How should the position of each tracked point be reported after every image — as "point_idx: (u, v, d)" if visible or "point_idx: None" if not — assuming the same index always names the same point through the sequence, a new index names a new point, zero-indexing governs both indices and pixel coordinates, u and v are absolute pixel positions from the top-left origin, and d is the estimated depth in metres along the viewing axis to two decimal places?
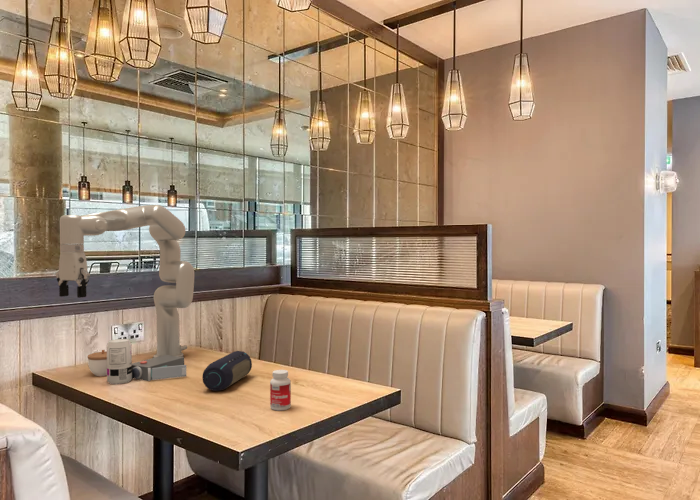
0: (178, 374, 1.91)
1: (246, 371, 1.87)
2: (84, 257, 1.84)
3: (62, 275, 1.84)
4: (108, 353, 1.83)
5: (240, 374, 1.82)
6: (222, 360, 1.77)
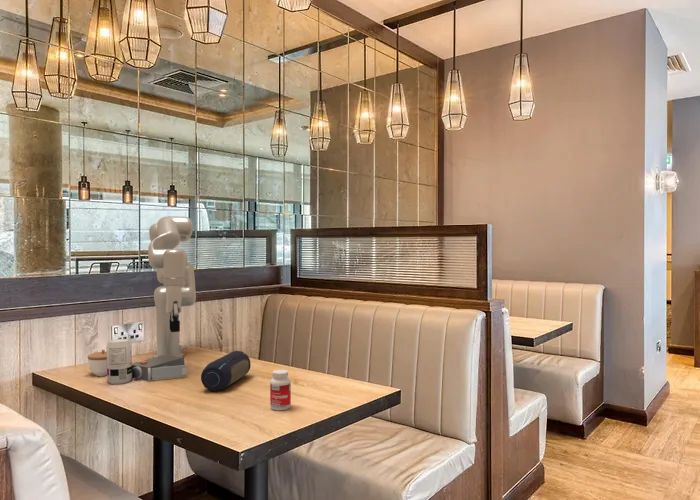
0: (178, 374, 1.91)
1: (245, 371, 1.87)
2: None
3: None
4: (108, 353, 1.83)
5: (239, 374, 1.82)
6: (221, 360, 1.77)
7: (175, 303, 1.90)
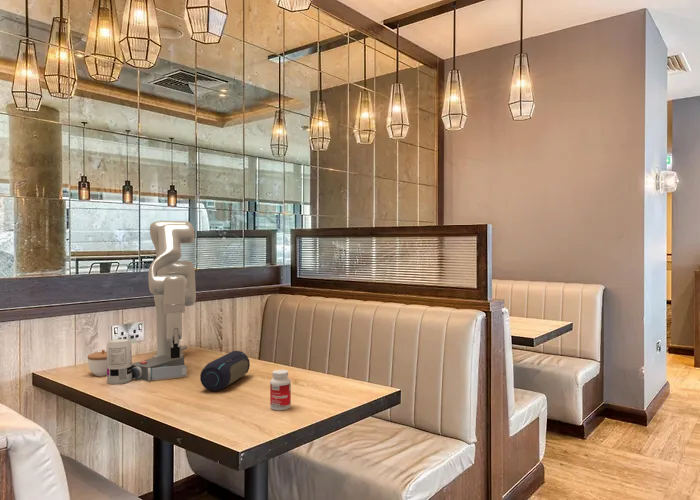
0: (178, 374, 1.91)
1: (244, 371, 1.87)
2: None
3: None
4: (108, 353, 1.83)
5: (238, 374, 1.82)
6: (220, 360, 1.77)
7: (175, 331, 1.90)
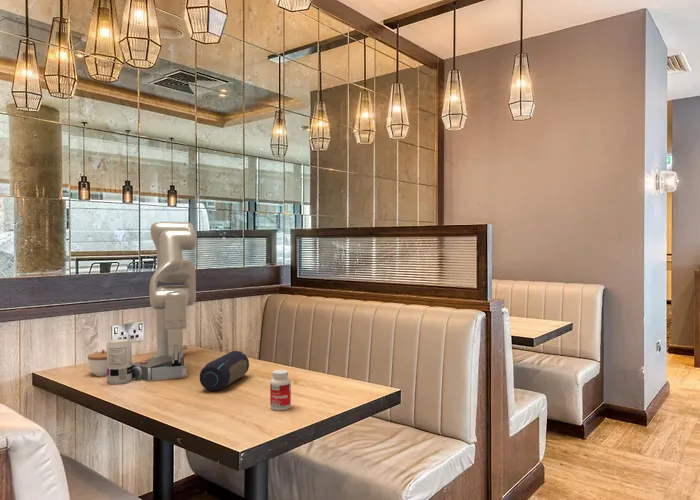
0: (178, 375, 1.90)
1: (243, 371, 1.87)
2: None
3: None
4: (108, 353, 1.83)
5: (237, 374, 1.82)
6: (219, 360, 1.77)
7: (176, 347, 1.88)
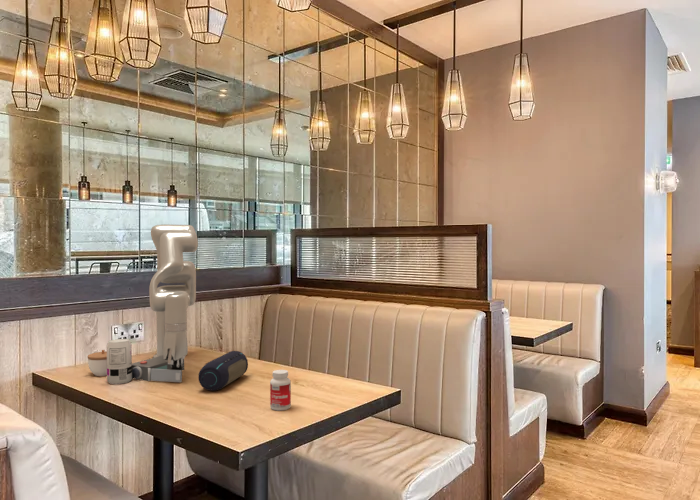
0: (173, 379, 1.84)
1: (242, 371, 1.87)
2: None
3: (178, 354, 1.85)
4: (108, 353, 1.83)
5: (236, 374, 1.82)
6: (218, 360, 1.77)
7: (170, 351, 1.83)
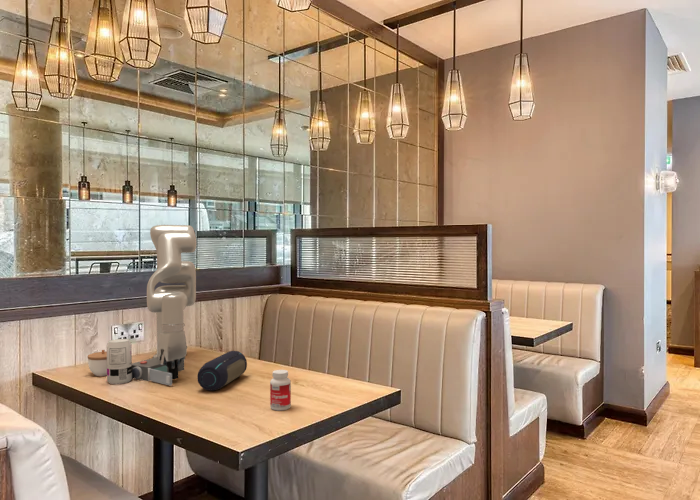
0: (165, 382, 1.81)
1: (241, 371, 1.87)
2: None
3: (172, 355, 1.83)
4: (108, 353, 1.83)
5: (235, 374, 1.82)
6: (217, 360, 1.77)
7: (163, 352, 1.82)
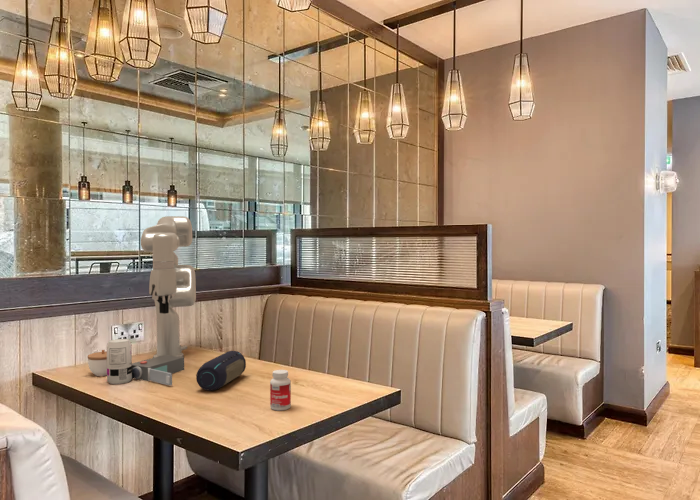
0: (165, 382, 1.81)
1: (240, 371, 1.88)
2: None
3: (163, 291, 1.95)
4: (108, 353, 1.83)
5: (234, 374, 1.82)
6: (216, 360, 1.77)
7: (154, 287, 1.94)
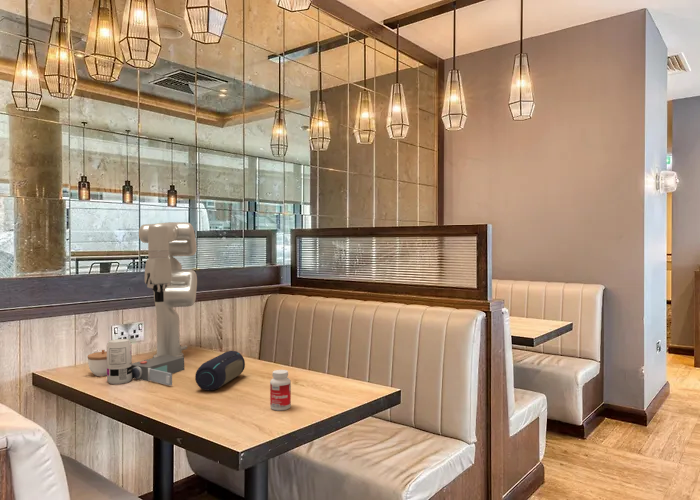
0: (165, 382, 1.81)
1: (239, 371, 1.88)
2: None
3: (158, 279, 2.00)
4: (108, 353, 1.83)
5: (233, 374, 1.82)
6: (215, 360, 1.77)
7: (150, 276, 1.99)
